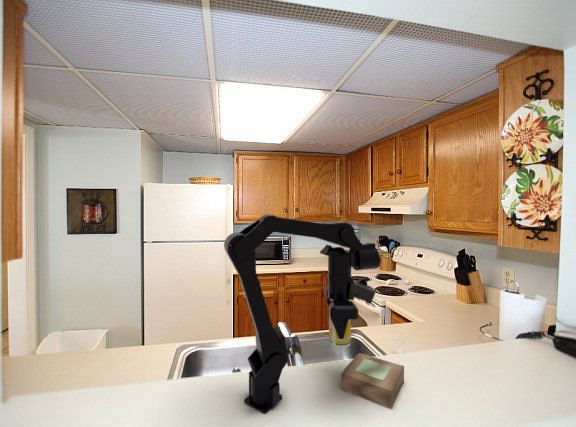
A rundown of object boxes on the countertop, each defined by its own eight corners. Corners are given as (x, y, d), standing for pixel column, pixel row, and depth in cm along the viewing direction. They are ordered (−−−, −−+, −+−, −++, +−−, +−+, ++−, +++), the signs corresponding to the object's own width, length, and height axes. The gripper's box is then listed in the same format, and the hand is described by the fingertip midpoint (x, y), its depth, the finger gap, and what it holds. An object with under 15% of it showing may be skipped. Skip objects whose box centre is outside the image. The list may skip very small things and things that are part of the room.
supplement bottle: (324, 343, 72) (324, 305, 72) (336, 336, 76) (336, 300, 76) (343, 350, 68) (343, 311, 68) (354, 342, 72) (354, 305, 72)
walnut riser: (341, 389, 70) (341, 372, 70) (358, 366, 80) (358, 352, 80) (391, 408, 63) (391, 390, 63) (403, 381, 73) (404, 365, 73)
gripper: (382, 282, 62) (382, 353, 62) (364, 264, 80) (364, 319, 81) (330, 281, 63) (330, 352, 63) (324, 264, 81) (325, 318, 82)
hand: (339, 333), depth 72 cm, fingers closed on supplement bottle, 5 cm apart
